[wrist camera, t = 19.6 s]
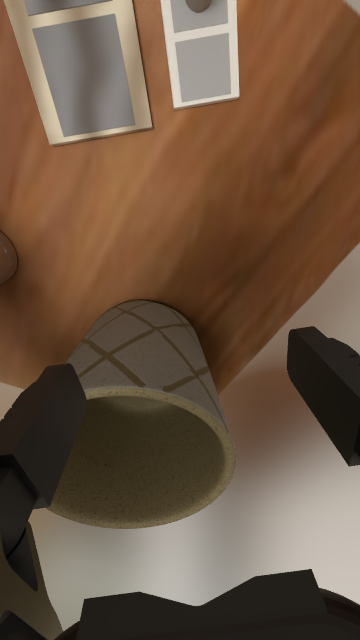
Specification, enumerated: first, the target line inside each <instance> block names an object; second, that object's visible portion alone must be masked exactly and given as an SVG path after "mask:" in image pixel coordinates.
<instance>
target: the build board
mask: <svg viewBox="0 0 360 640" xmlns="http://www.w3.org/2000/svg"><path fill="white" fill-rule="evenodd" d="M4 2H5V5H6V8H7V11H8V15H9V18H10V21H11V24H12V27H13V30H14V33H15V37H16V40H17V43H18V46H19V49H20V52H21V55H22V58H23V62H24V65H25V68H26V71H27V74H28V77H29V80H30V84H31V87H32V90H33V93H34V96H35V99H36V102H37V105H38V109H39V112H40V115H41V118H42V121H43V124H44V127H45V131H46V134H47V137H48V140H49V143H50V145H52V146H59V145H65V144H71V143H76V142H82V141H88V140H94V139H99V138H105V137H111V136H117V135H123V134H128V133H134V132H140V131H146V130H151V129H153V128H152V122H151V116H150V109H149V103H148V97H147V91H146V84H145V78H144V72H143V66H142V60H141V53H140V47H139V41H138V35H137V28H136V22H135V16H134V10H133V3H132V0H4Z"/></svg>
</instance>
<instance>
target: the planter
mask: <svg viewBox="0 0 360 640" xmlns="http://www.w3.org/2000/svg"><path fill="white" fill-rule="evenodd" d="M66 363H70V364H72V366H73V367H74V369H75V371H76V374H77V376H78V378H79V381H80V383H81V385H82V388H83V390H84V393H85V395H86V401H87V406H86V411H85V414H84V417H83V419H82V422H81V425H80V427H79V430H78V433H77V435H76V438H75V441H74V444H73V446H72V449H71V452H70V454H69V457H68V460H67V462H66V465H65V468H64V470H63V473H62V476H61V478H60V481H59V484H58V486H57V489H56V492H55V494H54V497H53V500H52V502H51V505H50V507H46V509H48V510H50V511H51V512H53V513H55V514H57V515H60V516H62V517H65V518H67V519H70V520H73V521H76V522H79V523H83V524H87V525H92V526H97V527H105V528H116V529H135V528H146V527H153V526H159V525H164V524H168V523H171V522H175V521H178V520H180V519H183V518H186V517H188V516H190V515H192V514H194V513H196V512H198V511H200V510H201V509H203V508H205V507H206V506H208V505H209V504H211V503H212V502H213V501H214V500H215V499H217V498H218V497H219V496H220V494H222V492H223V491H224V490H225V489H226V487H227V486H228V484H229V482H230V480H231V478H232V476H233V473H234V469H235V463H236V455H235V448H234V444H233V440H232V437H231V434H230V431H229V428H228V424H227V422H226V419H225V416H224V412H223V409H222V406H221V403H220V400H219V397H218V394H217V391H216V388H215V385H214V382H213V379H212V376H211V373H210V370H209V367H208V365H207V362H206V359H205V356H204V354H203V351H202V348H201V345H200V342H199V340H198V337H197V335H196V332H195V331H194V329H193V327H192V326H191V324H190V323H189V322H188V321H187V320H186V319H185V318H184V317H183V316H182V315H181V314H180V313H178V312H177V311H175V310H173V309H171V308H169V307H167V306H165V305H162V304H158V303H154V302H149V301H145V300H132V301H128V302H125V303H122V304H120V305H118V306H116V307H114V308H112V309H110V310H109V311H107V312H106V313H104V314H103V315H102V316H101V317H100V318H99V319H98V320H97V321H96V322H95V323H94V324H93V326H92V327H91V328H90V330H89V331H88V333H87V334H86V335H85V337H84V338H83V339H82V341H81V342H80V343H79V344H78V346H77V347H76V348H75V350H74V351H73V353H72V354H71V355H70V357H69V358H68V359H67V361H66V362H65V363H64V364H66Z"/></svg>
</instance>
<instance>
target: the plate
mask: <svg viewBox="0 0 360 640" xmlns="http://www.w3.org/2000/svg"><path fill="white" fill-rule="evenodd" d="M160 4H161V12H162V20H163V28H164V36H165V44H166V52H167V60H168V68H169V76H170V84H171V92H172V100H173V107H174V110H180V109H186V108H191V107H197V106H203V105H208V104H214V103H220V102H226V101H231V100H237V99H238V98H239V72H238V40H237V8H236V0H160Z"/></svg>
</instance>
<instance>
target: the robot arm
mask: <svg viewBox="0 0 360 640" xmlns="http://www.w3.org/2000/svg"><path fill="white" fill-rule="evenodd" d="M16 269H17V255H16V252H15V249H14V247H13V245H12V243H11V242H10V241H9V239H8V238H7V237H6V236H5V235H4V234H3V233H2V232H1V231H0V284H1V283H3V282H5V281H7V280H8V279H10V278H11V277H12V276H13V274H14V273H15V271H16ZM287 370H288V374H289V377H290V379H291V381H292V383H293V384H294V386H295V387H296V389H297V390H298V392H299V393H300V395H301V396H302V398H303V399H304V401H305V402H306V404H307V405H308V407H309V408H310V410H311V411H312V412H313V414H314V415H315V417H316V418H317V420H318V421H319V423H320V424H321V426H322V427H323V429H324V430H325V432H326V433H327V434H328V436H329V438H330V439H331V441H332V442H333V444H334V445H335V447H336V448H337V450H338V451H339V452H340V454H341V455H342V457H343V458H344V460H345V461H346V463H347V464H348V466H355V465H360V356H359V354H358V353H357V352H356V351H355V350H353V349H352V348H351V347H350V346H348V345H347V344H344V343H342V342H340V341H338V340H336V339H334V338H327V337H326V336H325V335H324V334H322V333H321V332H320V331H319V330H318V329H316V328H315V327H312V326H311V327H305V328H298V329H292V330H290V332H289V337H288V353H287ZM86 406H87V401H86V395H85V393H84V390H83V388H82V385H81V383H80V381H79V378H78V376H77V374H76V371H75V369H74V367H73V366H72V364H70V363H66V364H60V365H53V366H48V367H46V368H45V370H44V371H43V373H42V374H41V375H40V377H39V378H38V380H37V381H36V382H34V383H33V384H31V385H30V386H29V387H28V388H27V389H26V390H24V391H23V392H22V393H21V394H20V395H19V397H18V398H17V399H16V401H15V402H14V403H13V405H12V408H10V409H9V410H8V412H7V413H6V414H5V416H4V419H2V420H1V421H0V640H360V605H359V604H357V603H355V602H353V601H352V600H350V599H348V598H346V597H344V596H341V595H339V594H336V593H334V592H331V591H329V590H326V589H322V588H319V587H318V585H317V582H316V579H315V577H314V574H313V572H312V569H308V570H300V571H293V572H285V573H278V574H270V575H262V576H256V577H253V578H251V579H249V580H248V581H246V582H244V583H242V584H240V585H239V586H237V587H235V588H233V589H231V590H229V591H227V592H226V593H224V594H222V595H220V596H218V597H216V598H215V599H213V600H211V601H209V602H207V603H206V604H204V605H201V606H192V605H187V604H184V603H180V602H176V601H173V600H168V599H165V598H161V597H157V596H154V595H149V594H146V593H142V592H134V593H127V594H118V595H111V596H104V597H95V598H89V599H84V603H83V608H82V613H81V618H80V621H78V622H77V623H75V624H74V625H72V626H71V627H69V628H68V629H66V630H65V631H64V632H63V630H62V627H61V624H60V621H59V619H58V617H57V614H56V612H55V611H54V609H53V607H52V605H51V603H50V600H49V598H48V595H47V591H46V587H45V583H44V579H43V575H42V571H41V566H40V562H39V557H38V553H37V549H36V545H35V540H34V536H33V532H32V528H31V525H30V523H29V522H28V519H29V517H30V514H31V512H32V510H33V509H39V508H46V507H50V505H51V502H52V500H53V497H54V494H55V492H56V489H57V486H58V484H59V481H60V478H61V476H62V473H63V470H64V468H65V465H66V462H67V460H68V457H69V454H70V452H71V449H72V446H73V444H74V441H75V438H76V435H77V433H78V430H79V427H80V425H81V422H82V419H83V417H84V414H85V411H86Z"/></svg>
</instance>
